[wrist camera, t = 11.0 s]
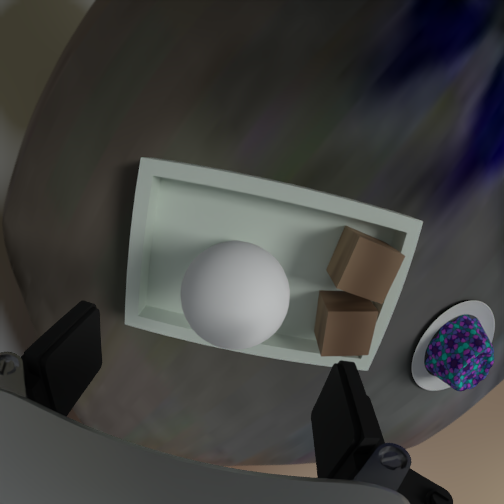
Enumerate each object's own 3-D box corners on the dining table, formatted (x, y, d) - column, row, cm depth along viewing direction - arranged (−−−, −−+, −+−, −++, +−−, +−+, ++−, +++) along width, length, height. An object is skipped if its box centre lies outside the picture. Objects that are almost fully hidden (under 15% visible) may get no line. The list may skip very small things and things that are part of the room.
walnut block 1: (385, 242, 24) (405, 256, 21) (366, 284, 25) (382, 304, 22) (345, 225, 24) (359, 236, 20) (326, 269, 25) (336, 288, 21)
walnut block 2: (363, 291, 26) (378, 311, 22) (356, 331, 27) (368, 355, 23) (319, 290, 26) (328, 311, 22) (313, 331, 27) (320, 356, 23)
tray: (407, 215, 24) (423, 221, 22) (359, 352, 28) (367, 370, 25) (154, 157, 24) (141, 157, 21) (136, 309, 28) (124, 324, 25)
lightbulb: (282, 274, 26) (310, 353, 15) (212, 295, 26) (200, 382, 16) (260, 204, 24) (280, 244, 13) (186, 228, 24) (150, 284, 14)
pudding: (476, 275, 26) (505, 294, 21) (499, 341, 28) (520, 362, 23) (392, 348, 29) (410, 378, 23) (428, 401, 31) (444, 428, 26)
